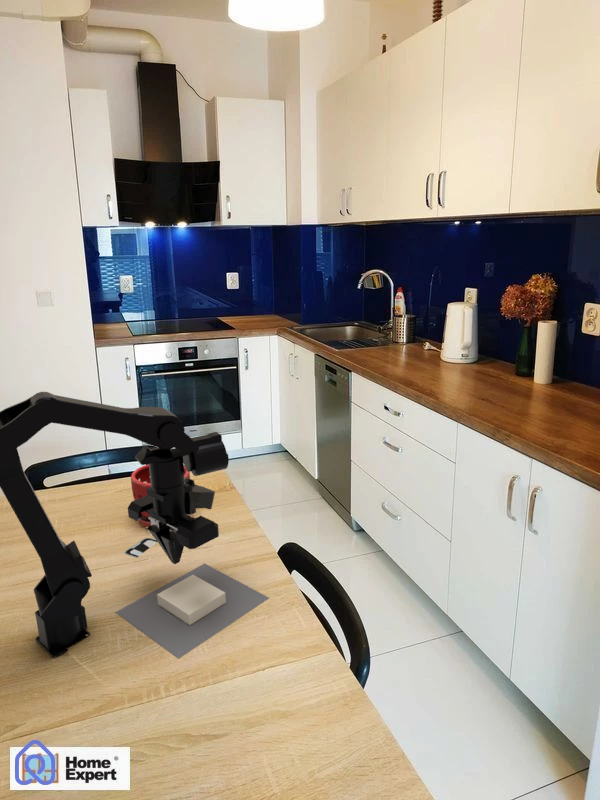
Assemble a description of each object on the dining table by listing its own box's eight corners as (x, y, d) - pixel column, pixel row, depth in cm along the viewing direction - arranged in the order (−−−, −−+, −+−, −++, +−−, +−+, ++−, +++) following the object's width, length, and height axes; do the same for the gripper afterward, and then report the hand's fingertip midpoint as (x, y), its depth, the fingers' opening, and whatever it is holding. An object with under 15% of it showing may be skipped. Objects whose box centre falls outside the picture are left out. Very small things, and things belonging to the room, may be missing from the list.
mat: (178, 661, 89) (178, 658, 89) (115, 615, 101) (115, 612, 101) (269, 600, 104) (269, 597, 103) (204, 566, 115) (204, 563, 115)
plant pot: (135, 536, 127) (129, 486, 124) (136, 510, 140) (131, 464, 136) (195, 528, 130) (190, 479, 127) (191, 503, 143) (187, 458, 139)
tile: (158, 605, 102) (189, 626, 96) (156, 594, 102) (188, 614, 96) (193, 584, 108) (226, 603, 102) (192, 574, 107) (225, 592, 102)
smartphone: (179, 572, 113) (122, 552, 120) (179, 576, 113) (122, 557, 120) (202, 554, 119) (147, 536, 126) (202, 558, 119) (147, 540, 126)
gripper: (240, 480, 98) (245, 561, 102) (173, 455, 110) (180, 529, 114) (187, 503, 90) (195, 590, 94) (121, 474, 102) (131, 552, 106)
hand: (175, 562), depth 103 cm, fingers closed
